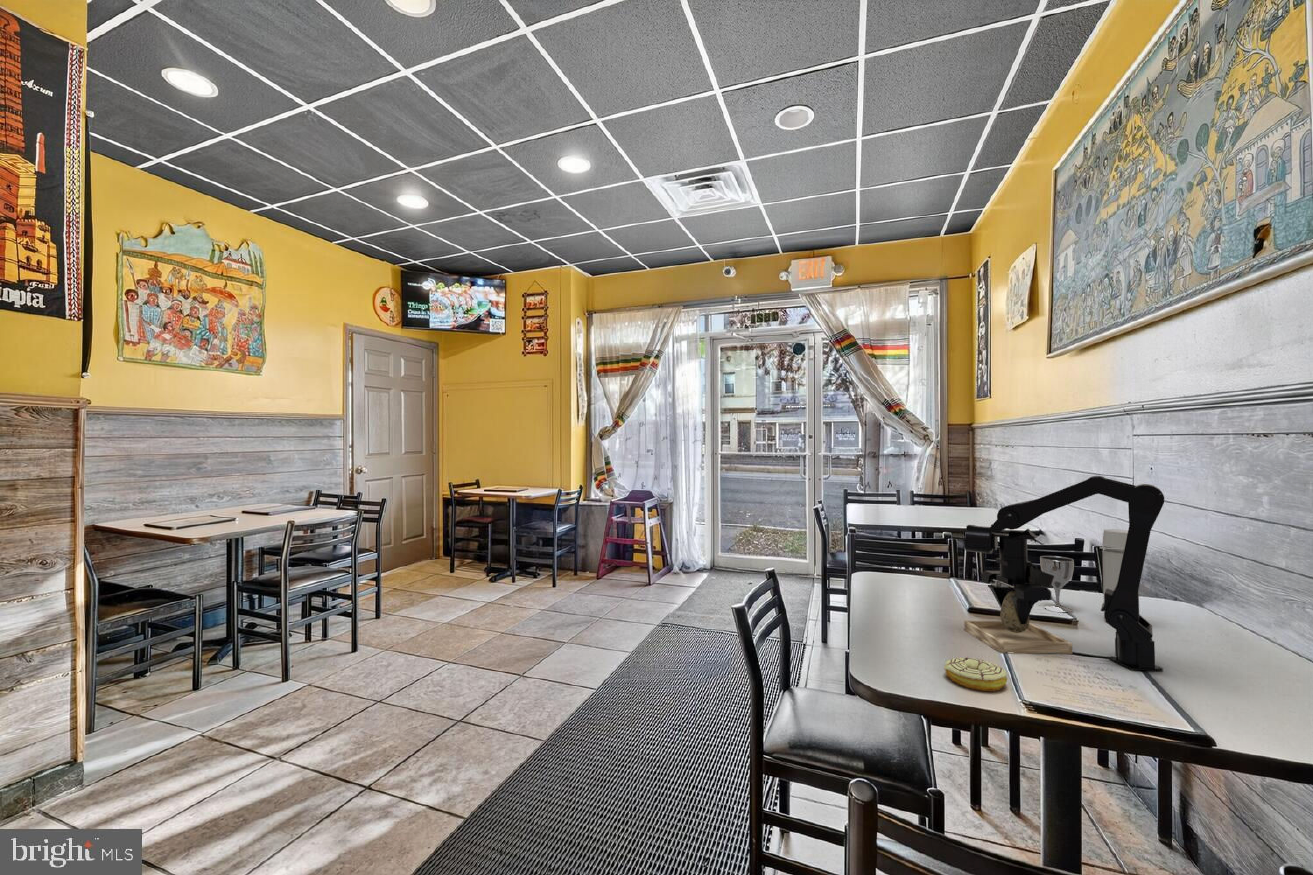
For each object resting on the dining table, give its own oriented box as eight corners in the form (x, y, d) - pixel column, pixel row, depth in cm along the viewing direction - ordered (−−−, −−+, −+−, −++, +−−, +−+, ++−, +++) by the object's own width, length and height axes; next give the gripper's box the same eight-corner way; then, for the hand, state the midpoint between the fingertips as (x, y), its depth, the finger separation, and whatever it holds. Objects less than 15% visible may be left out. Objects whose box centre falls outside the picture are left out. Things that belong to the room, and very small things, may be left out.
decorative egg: (997, 632, 132) (996, 591, 132) (1004, 626, 136) (1003, 587, 136) (1026, 638, 127) (1025, 595, 127) (1032, 632, 131) (1031, 591, 131)
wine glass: (1063, 605, 161) (1062, 555, 162) (1081, 613, 153) (1080, 561, 154) (1035, 605, 162) (1034, 555, 163) (1052, 613, 154) (1050, 560, 155)
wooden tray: (1072, 654, 123) (1072, 643, 123) (1000, 652, 124) (1000, 642, 124) (1027, 630, 139) (1027, 621, 139) (964, 629, 140) (964, 620, 140)
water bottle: (1147, 629, 140) (1145, 533, 141) (1113, 627, 142) (1111, 532, 142) (1124, 618, 149) (1122, 528, 150) (1092, 616, 151) (1090, 527, 151)
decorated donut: (965, 668, 116) (964, 650, 116) (1018, 687, 106) (1017, 667, 106) (934, 677, 111) (934, 659, 111) (987, 698, 101) (986, 678, 101)
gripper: (1074, 564, 122) (1076, 633, 122) (1023, 549, 141) (1024, 609, 140) (1024, 563, 123) (1026, 632, 122) (979, 549, 141) (981, 608, 141)
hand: (1014, 619), depth 131 cm, fingers closed on decorative egg, 6 cm apart
